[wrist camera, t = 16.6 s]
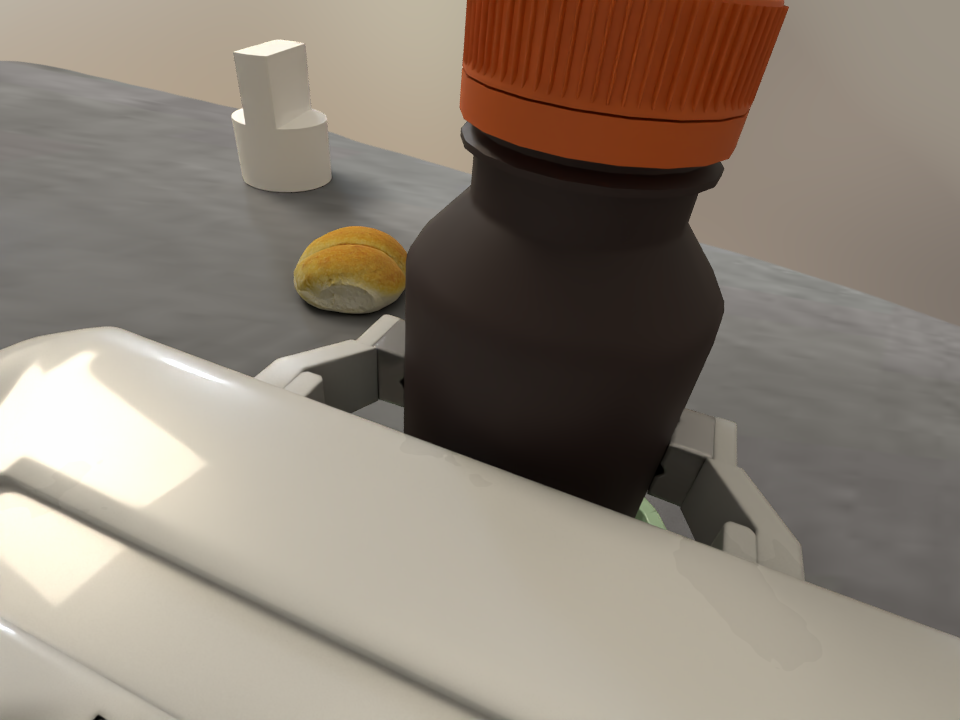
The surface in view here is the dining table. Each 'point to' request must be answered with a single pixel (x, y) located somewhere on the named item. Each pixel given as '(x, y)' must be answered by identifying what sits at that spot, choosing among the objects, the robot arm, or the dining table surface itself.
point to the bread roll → (352, 271)
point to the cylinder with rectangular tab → (279, 120)
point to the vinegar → (579, 236)
